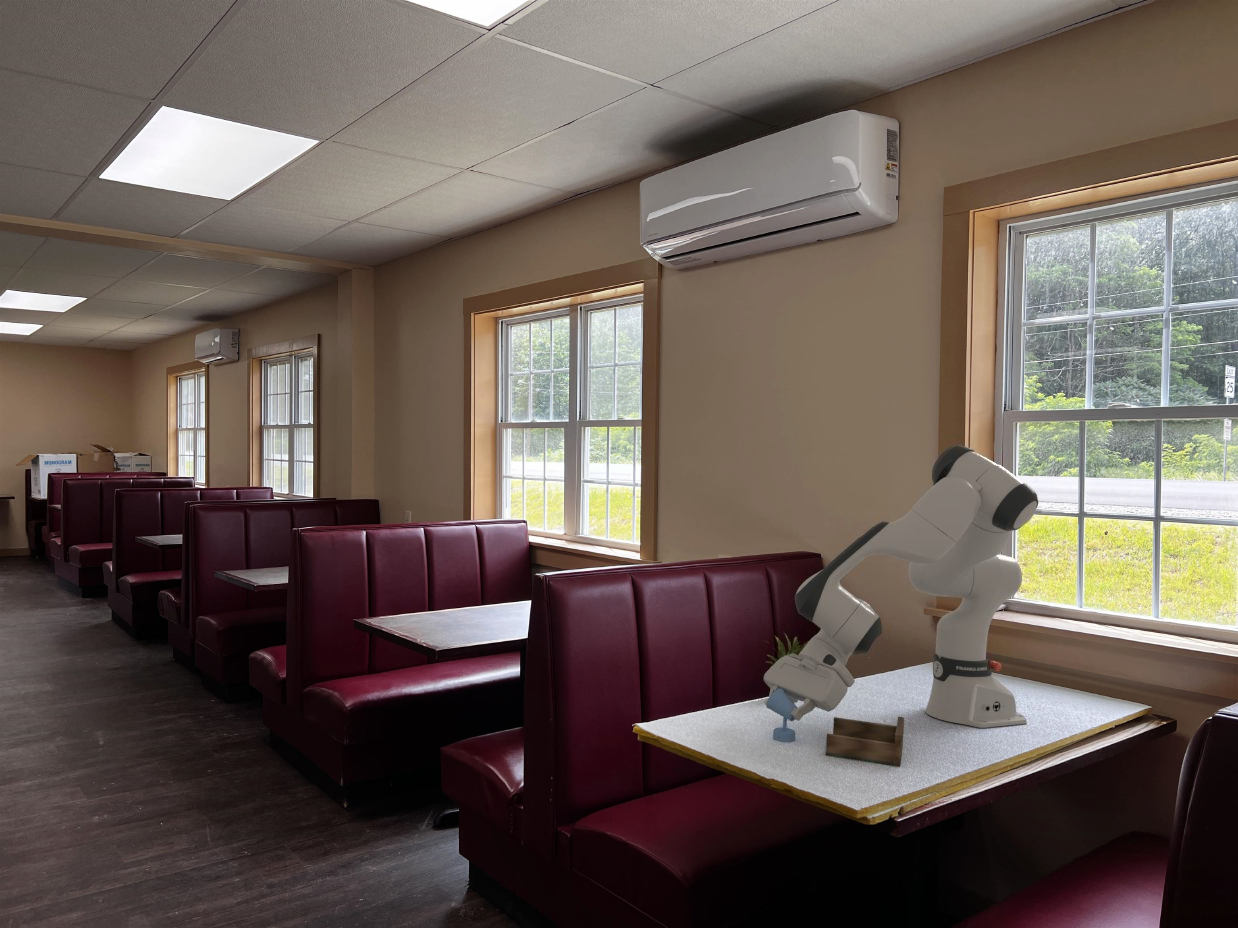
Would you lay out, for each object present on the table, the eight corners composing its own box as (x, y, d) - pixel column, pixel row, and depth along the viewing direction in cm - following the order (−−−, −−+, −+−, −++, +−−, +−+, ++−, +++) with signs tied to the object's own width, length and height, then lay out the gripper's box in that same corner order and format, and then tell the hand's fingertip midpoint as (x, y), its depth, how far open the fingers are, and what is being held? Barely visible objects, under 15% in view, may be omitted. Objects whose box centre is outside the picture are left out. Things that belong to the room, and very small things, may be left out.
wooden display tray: (825, 755, 172) (827, 724, 172) (833, 735, 185) (834, 707, 185) (900, 766, 167) (901, 735, 167) (902, 746, 180) (904, 717, 180)
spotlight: (761, 736, 182) (790, 744, 178) (764, 688, 182) (792, 695, 178) (774, 731, 186) (802, 739, 181) (777, 684, 186) (805, 691, 181)
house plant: (832, 701, 213) (836, 634, 213) (805, 712, 202) (809, 641, 203) (781, 689, 222) (784, 625, 222) (752, 699, 212) (755, 631, 212)
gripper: (781, 642, 194) (743, 689, 190) (845, 663, 176) (805, 715, 172) (795, 661, 196) (758, 708, 192) (860, 683, 178) (821, 736, 174)
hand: (781, 712), depth 181 cm, fingers closed on spotlight, 7 cm apart
